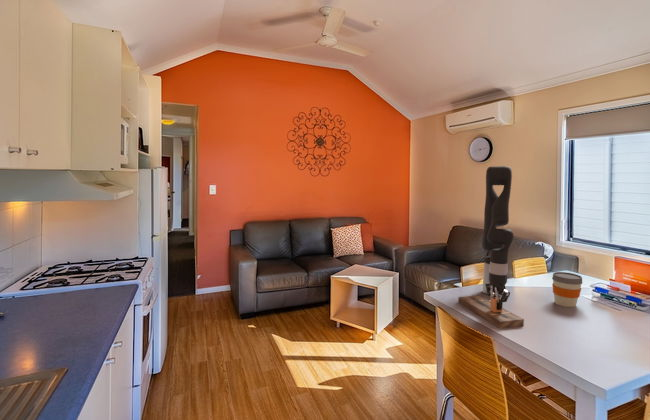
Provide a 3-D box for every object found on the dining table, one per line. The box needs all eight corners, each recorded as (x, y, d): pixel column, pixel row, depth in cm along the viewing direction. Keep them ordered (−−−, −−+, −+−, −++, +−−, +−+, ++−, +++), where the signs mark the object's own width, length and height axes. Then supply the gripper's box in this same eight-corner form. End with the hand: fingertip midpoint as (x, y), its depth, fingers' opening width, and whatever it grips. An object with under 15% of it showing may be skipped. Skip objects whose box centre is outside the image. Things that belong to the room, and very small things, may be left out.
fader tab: (497, 309, 158) (498, 296, 157) (502, 311, 155) (503, 298, 154) (490, 309, 157) (490, 297, 156) (494, 312, 154) (495, 299, 153)
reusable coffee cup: (548, 304, 173) (550, 275, 171) (552, 297, 182) (554, 270, 180) (578, 310, 164) (581, 280, 163) (581, 303, 173) (584, 275, 172)
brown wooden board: (478, 300, 177) (478, 295, 177) (523, 325, 148) (523, 318, 147) (458, 302, 174) (458, 296, 174) (499, 328, 145) (500, 321, 145)
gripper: (517, 275, 148) (514, 313, 150) (494, 267, 161) (492, 301, 163) (502, 277, 146) (500, 315, 148) (480, 268, 160) (479, 303, 162)
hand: (496, 308), depth 156 cm, fingers closed on fader tab, 3 cm apart
